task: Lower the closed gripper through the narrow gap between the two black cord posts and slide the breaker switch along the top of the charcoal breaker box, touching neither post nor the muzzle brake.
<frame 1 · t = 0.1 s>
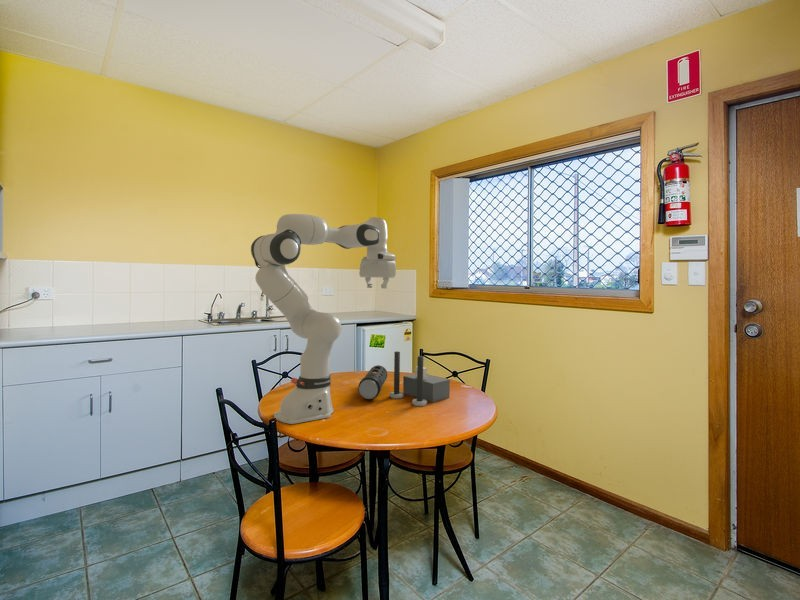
hand: (376, 288, 180), 48 cm above the table, fingers open, 8 cm apart
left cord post: (396, 396, 183), on the table
muzzle brake: (373, 394, 188), on the table
breaker switch: (421, 372, 183), point 11 cm above the table, slide at 0.0 cm
breaker box: (425, 395, 186), on the table
right cord post: (419, 404, 173), on the table
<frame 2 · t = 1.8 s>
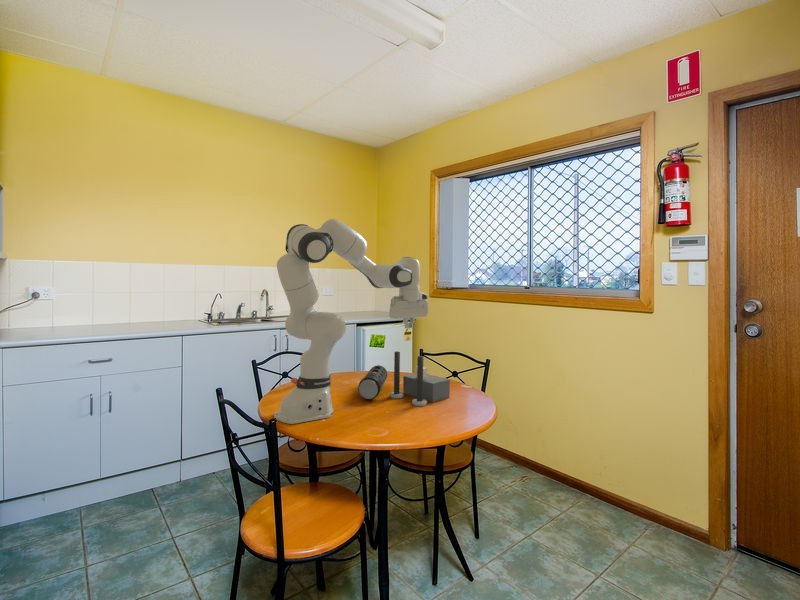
hand: (408, 328, 176), 31 cm above the table, fingers closed
nothing on the table moved.
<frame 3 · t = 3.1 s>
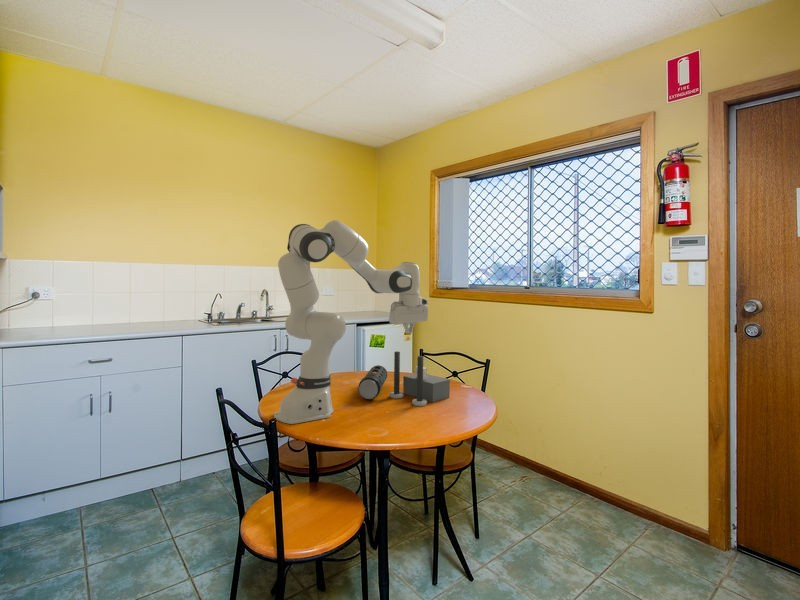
hand: (408, 333, 177), 29 cm above the table, fingers closed
nothing on the table moved.
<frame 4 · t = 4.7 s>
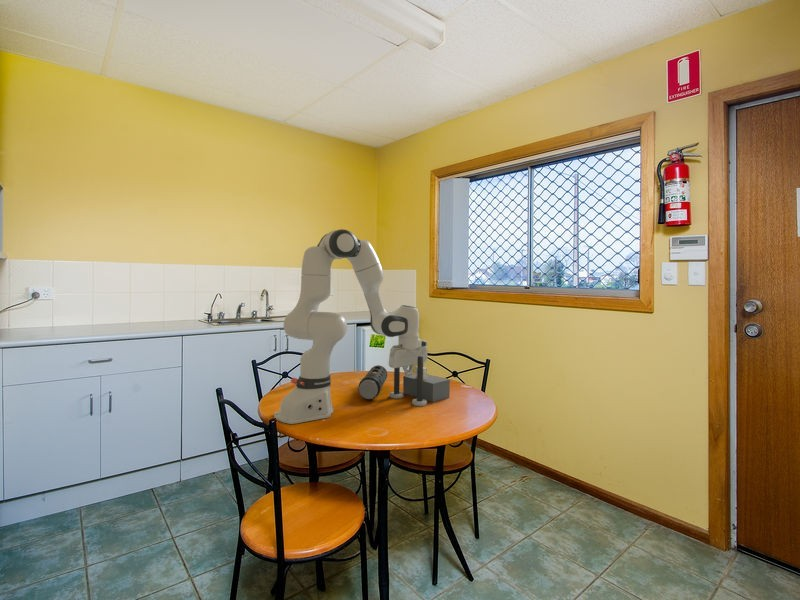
hand: (408, 375, 178), 11 cm above the table, fingers closed
nothing on the table moved.
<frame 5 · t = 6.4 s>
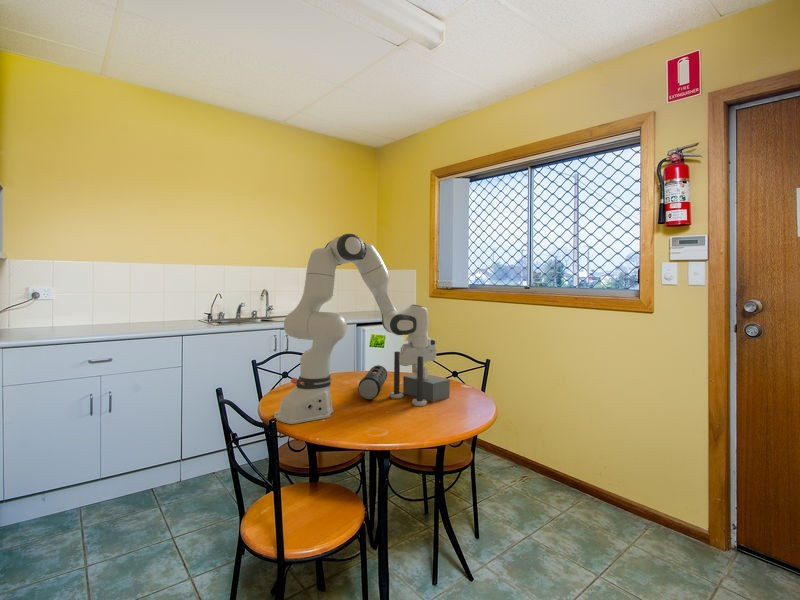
hand: (417, 373, 182), 11 cm above the table, fingers closed
breaker switch: (422, 372, 184), point 11 cm above the table, slide at 0.9 cm, touching gripper
everything else where it was.
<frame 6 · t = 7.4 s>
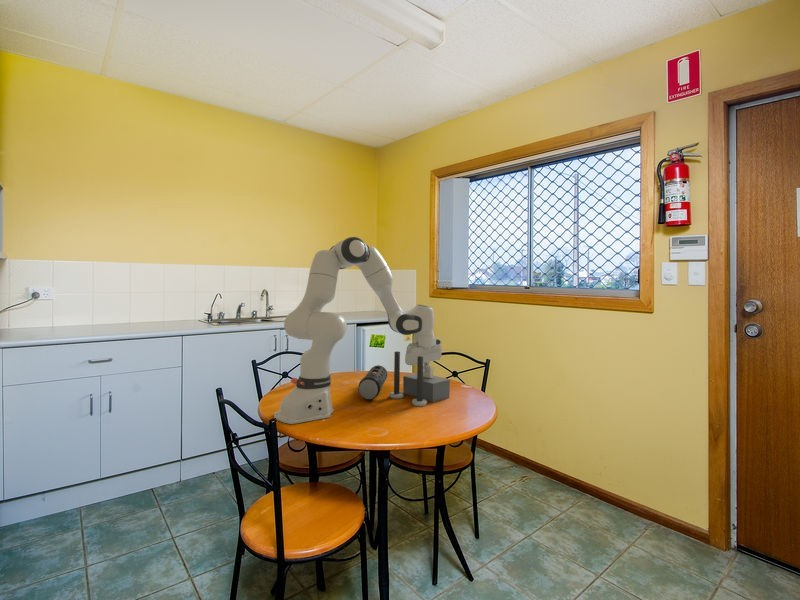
hand: (423, 372, 184), 11 cm above the table, fingers closed
breaker switch: (427, 371, 186), point 11 cm above the table, slide at 4.5 cm, touching gripper
everything else where it was.
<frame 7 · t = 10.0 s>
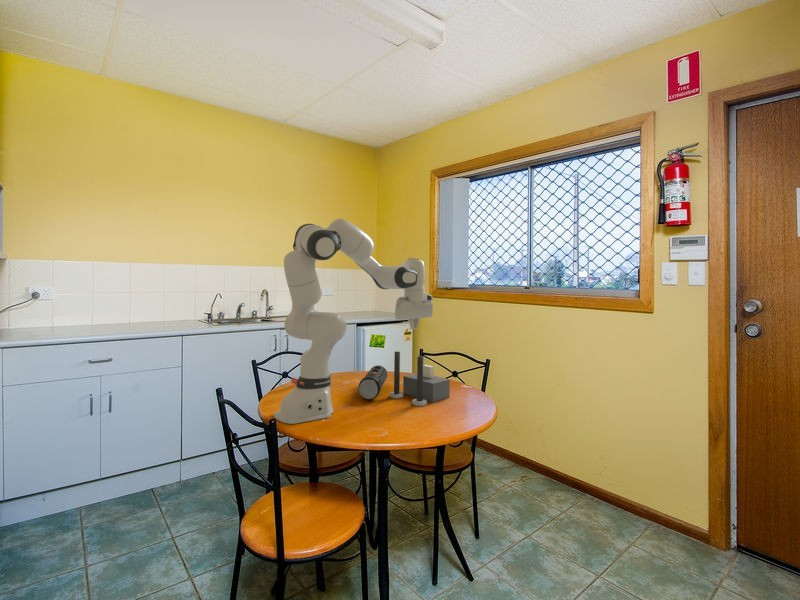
hand: (413, 328, 179), 31 cm above the table, fingers closed
breaker switch: (427, 371, 186), point 11 cm above the table, slide at 4.5 cm
everything else where it was.
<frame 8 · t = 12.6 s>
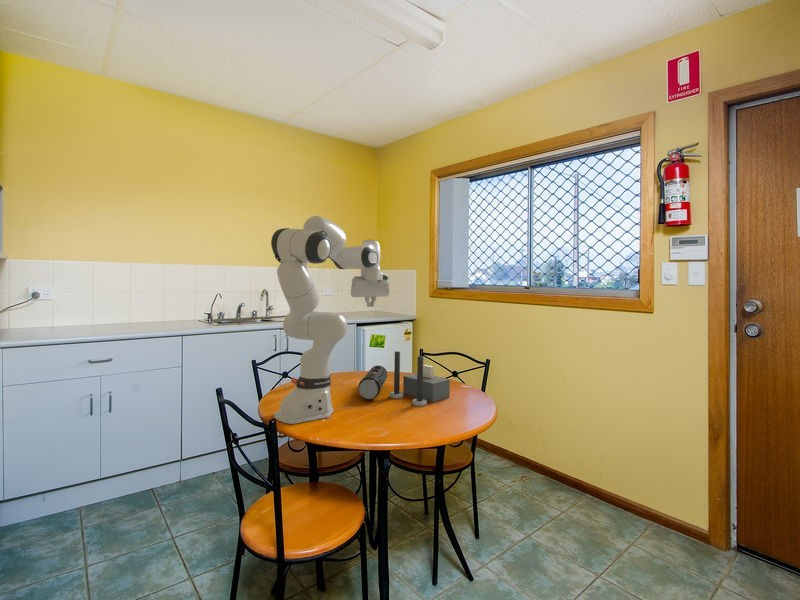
hand: (370, 306, 188), 39 cm above the table, fingers closed
nothing on the table moved.
at the end: breaker switch slide at 4.5 cm; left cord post moved 0.0 cm from its start; right cord post moved 0.0 cm from its start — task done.
